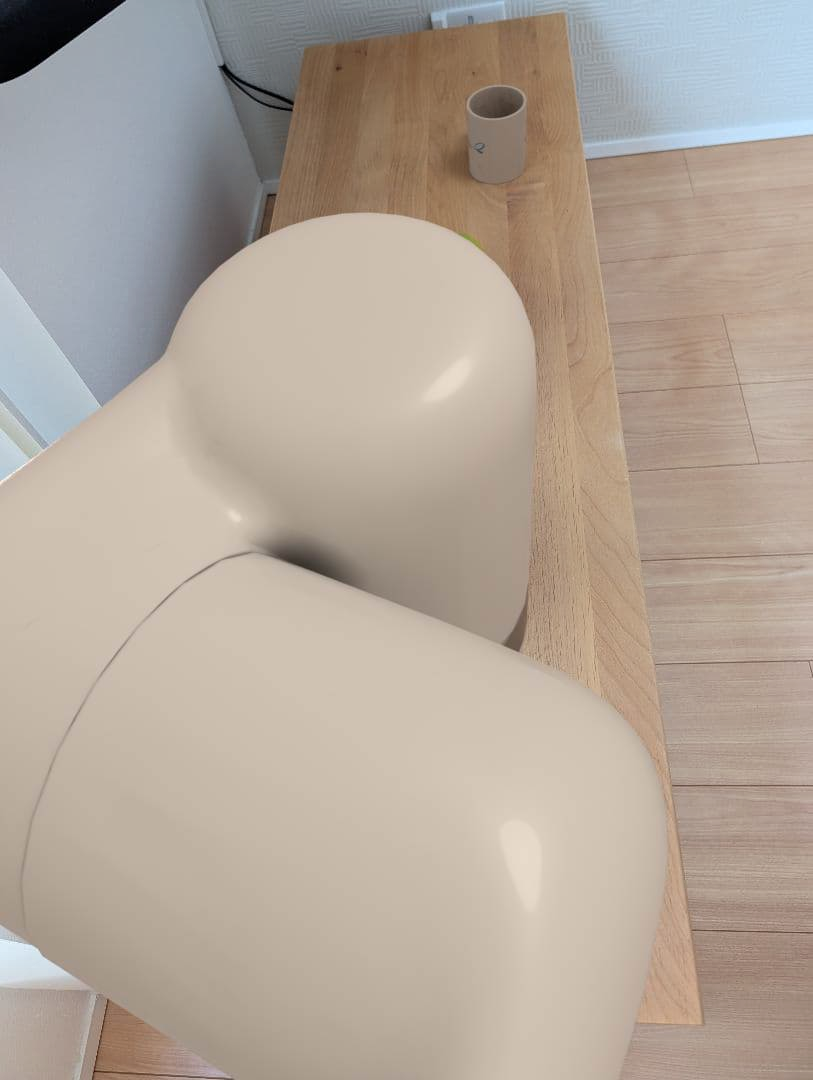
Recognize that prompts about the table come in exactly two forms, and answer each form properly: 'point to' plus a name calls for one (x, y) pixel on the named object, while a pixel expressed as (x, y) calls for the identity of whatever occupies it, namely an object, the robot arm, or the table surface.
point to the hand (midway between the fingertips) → (447, 749)
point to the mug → (497, 133)
